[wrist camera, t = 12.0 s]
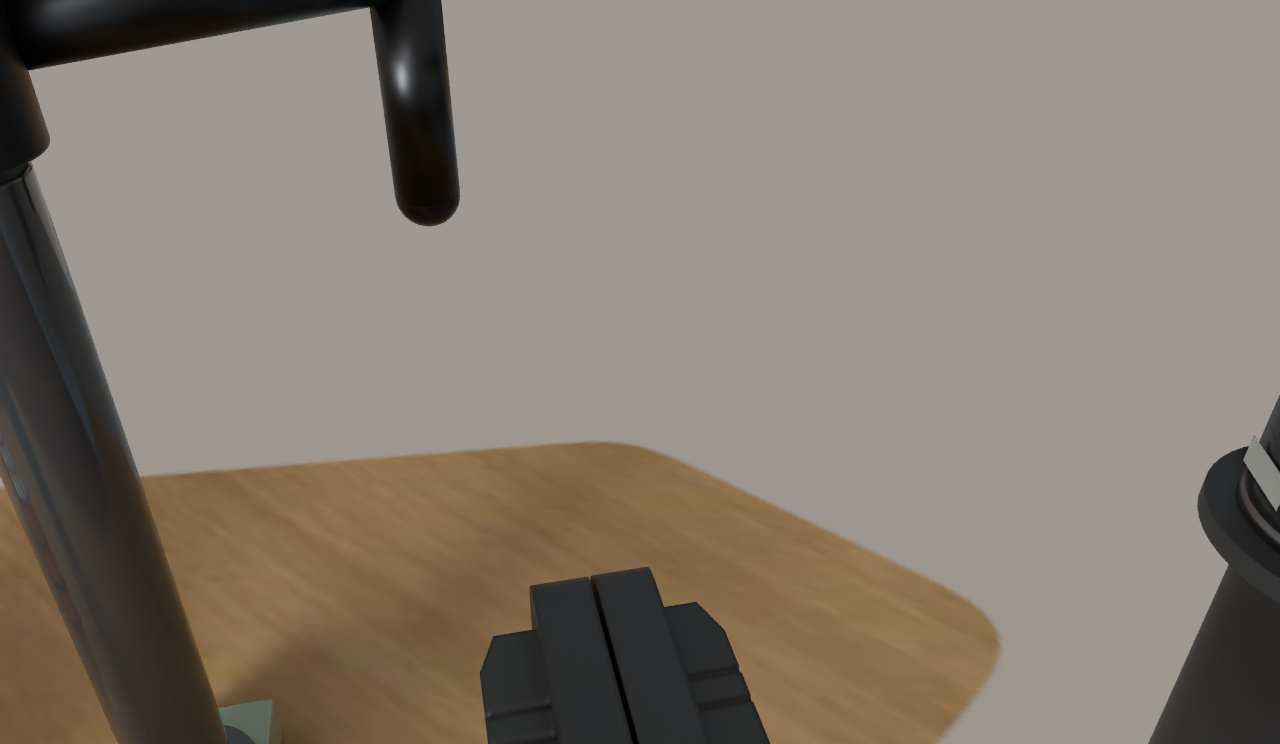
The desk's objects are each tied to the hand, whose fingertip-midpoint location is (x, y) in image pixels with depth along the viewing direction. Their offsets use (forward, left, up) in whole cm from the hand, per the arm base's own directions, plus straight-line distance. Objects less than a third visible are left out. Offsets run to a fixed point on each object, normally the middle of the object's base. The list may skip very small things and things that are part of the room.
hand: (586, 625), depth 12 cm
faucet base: (+9, -10, -17) cm, 22 cm away
